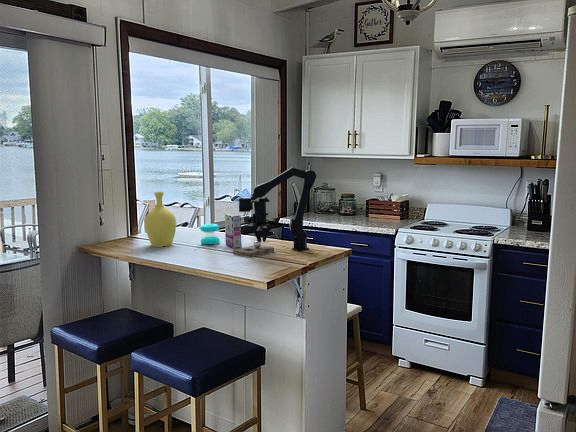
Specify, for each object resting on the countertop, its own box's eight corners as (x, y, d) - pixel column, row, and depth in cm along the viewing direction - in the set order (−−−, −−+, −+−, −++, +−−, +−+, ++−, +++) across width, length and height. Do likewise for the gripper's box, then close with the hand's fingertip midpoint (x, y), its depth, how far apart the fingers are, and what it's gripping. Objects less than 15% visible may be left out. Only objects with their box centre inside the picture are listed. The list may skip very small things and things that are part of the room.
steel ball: (258, 243, 245) (254, 238, 243) (263, 244, 242) (260, 239, 240) (254, 249, 243) (251, 244, 241) (259, 249, 241) (256, 244, 239)
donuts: (221, 223, 268) (215, 226, 258) (222, 241, 269) (216, 245, 260) (203, 223, 270) (197, 226, 260) (204, 241, 271) (198, 245, 261)
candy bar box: (242, 247, 253) (241, 215, 250) (233, 248, 250) (231, 216, 248) (234, 243, 263) (233, 213, 260) (225, 245, 260) (224, 213, 258)
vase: (139, 247, 259) (136, 193, 255) (157, 241, 274) (154, 190, 270) (166, 248, 254) (163, 194, 250) (183, 242, 269) (180, 190, 265)
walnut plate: (256, 248, 250) (256, 244, 250) (274, 251, 242) (274, 247, 242) (232, 254, 238) (232, 250, 238) (250, 257, 230) (250, 253, 230)
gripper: (262, 206, 253) (263, 236, 256) (234, 212, 240) (236, 244, 243) (278, 208, 246) (279, 239, 249) (250, 214, 232) (252, 247, 235)
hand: (261, 242), depth 244 cm, fingers open, 3 cm apart
